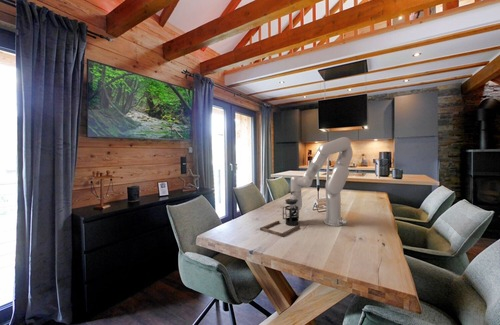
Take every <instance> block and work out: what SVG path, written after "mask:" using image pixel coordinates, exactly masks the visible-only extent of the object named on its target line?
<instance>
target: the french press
mask: <svg viewBox="0 0 500 325" xmlns="http://www.w3.org/2000/svg"><path fill="white" fill-rule="evenodd" d="M288 193H290V196H291V199H290V198H287V199H285V200H284V201H285V204H286V206H282V220H285V223H284V224H285V225H286V226H288V227H296V226H300V225H299V224H300V223H299V222H300V220H299V219H300V217H299V218H294V217H297V216H298V214H295V213H294V212H292V211H295V210H298V206H297V208H295V209H290V205H291V207H292V205H294V204H296V202H297V201H298V200H295V199H292V193H294V192H293V191H291V190H290V191H288ZM284 209H285V210H284ZM287 211H289V213H287ZM284 214H285V215H284Z"/></svg>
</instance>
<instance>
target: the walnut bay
mask: <svg viewBox="0 0 500 325" xmlns="http://www.w3.org/2000/svg"><path fill="white" fill-rule="evenodd" d="M280 222H281V221H280V220H275V221H274V222H271V223H268V224H266V225H264V226H261V227H259V231H260V232H261V231H262V232H263V233H264V232H265V233H268V234H272V235H275V236H278V237H281V238H284V237H286V236H288V235H289V234H291V233H293V232H295V231H297V230H299V229H301V228H300V225H297V226H293V227H292V228H289V229H288V230H285V231H283V232H279V231H275V230H272V229H269V228H271V227H274V226H276V225H279V224H280Z"/></svg>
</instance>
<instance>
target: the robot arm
mask: <svg viewBox="0 0 500 325" xmlns="http://www.w3.org/2000/svg"><path fill="white" fill-rule="evenodd" d="M337 153H338V155H337V159H336V161H335V163H334V165H333V167H332V170H331V171H332V173H331V175H330V178H329V179H327V180H326V182H325V187H324V188H325V214H326V215H325V218H326V219H324V220H323V223H324V224H325V225H327V226H331V227H341V226H343V225H344V224H347V223H348V220H346V219H343V217H342V214H341V213H342V212H341V211H342V210H341V207H342V206H341V204H342V203H341V192H342V190H343V188H344V186H346V182H347V180H348V178H349V175H350V169H349V167H350V164H351V161H352V158H353V147H352V141H351V139H350V138H348V137H345V136H343V137H342V136H341V137H339V138H336V139H333V140H331V141H330V140H329V141H328V142H324V143H321V144H320V145H319V147H318V149H317V150H316V152H315V154H314V155H313V157H312V159H311V161H310V163H309V165H308V166H307V169H306V170H305V172H304V174H303V176H297V175H295V176H291V177H290V191H293V192H294V193H292V199H295V200H298V201H297V202H296V204H294V205H292V207H291V205H290V204H289V206H290V207H289V209H295V208H297V206H298V210H295V211H292V212H294V213H295V214H298V216H297V217H294V218H299V219H300V210H301V209H302V207H303V198H302V187H303V188H309V187H311V186H312V184H313V181H314V179H315V177H316V175H317V174H318V173H319V171H320V170H321V169H322V168H323V167H324V166H325V163H326V161H327V159H328V158H329V156H330V155H334V154H337ZM289 199H291V195H290V197H289Z"/></svg>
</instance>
